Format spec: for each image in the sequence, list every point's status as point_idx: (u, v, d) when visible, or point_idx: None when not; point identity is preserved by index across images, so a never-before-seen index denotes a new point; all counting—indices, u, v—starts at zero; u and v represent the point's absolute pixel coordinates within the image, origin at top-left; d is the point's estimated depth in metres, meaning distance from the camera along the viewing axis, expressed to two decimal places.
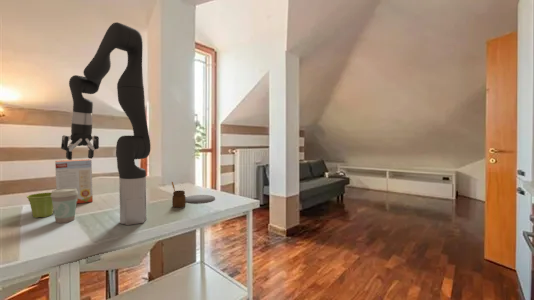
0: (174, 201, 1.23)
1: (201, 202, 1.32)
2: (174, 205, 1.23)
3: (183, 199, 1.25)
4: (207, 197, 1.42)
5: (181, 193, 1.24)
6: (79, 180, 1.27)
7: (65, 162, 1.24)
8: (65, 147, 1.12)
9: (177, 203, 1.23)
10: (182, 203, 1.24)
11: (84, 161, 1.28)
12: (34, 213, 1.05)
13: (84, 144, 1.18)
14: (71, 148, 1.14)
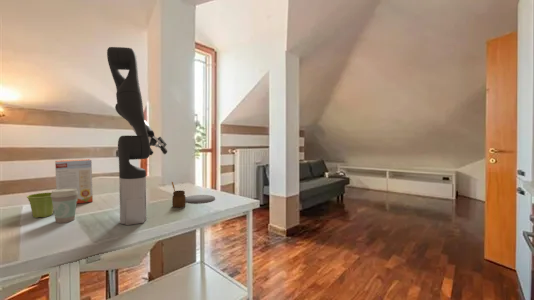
0: (174, 201, 1.23)
1: (201, 202, 1.32)
2: (174, 205, 1.23)
3: (183, 199, 1.25)
4: (207, 197, 1.42)
5: (181, 193, 1.24)
6: (79, 180, 1.27)
7: (65, 162, 1.24)
8: None
9: (177, 203, 1.23)
10: (182, 203, 1.24)
11: (84, 161, 1.28)
12: (34, 213, 1.05)
13: (154, 142, 1.32)
14: None
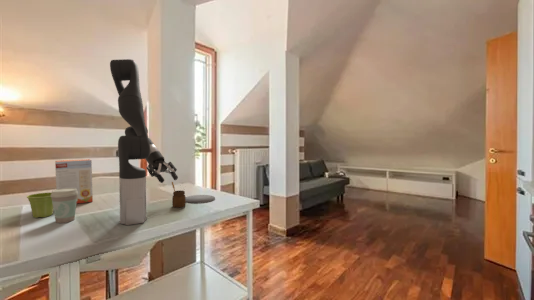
0: (174, 201, 1.23)
1: (201, 202, 1.32)
2: (174, 205, 1.23)
3: (183, 199, 1.25)
4: (207, 197, 1.42)
5: (181, 193, 1.24)
6: (79, 180, 1.27)
7: (65, 162, 1.24)
8: (153, 171, 1.23)
9: (177, 203, 1.23)
10: (182, 203, 1.24)
11: (84, 161, 1.28)
12: (34, 213, 1.05)
13: (165, 168, 1.30)
14: (158, 171, 1.25)
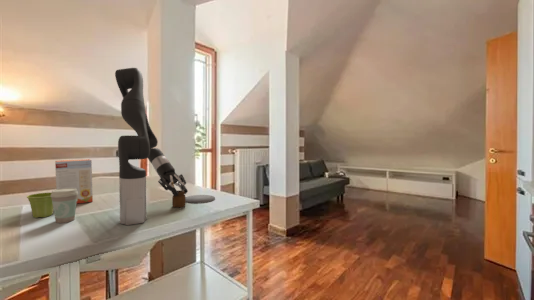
0: (174, 201, 1.23)
1: (201, 202, 1.32)
2: (174, 205, 1.23)
3: (183, 199, 1.25)
4: (207, 197, 1.42)
5: (181, 193, 1.24)
6: (79, 180, 1.27)
7: (65, 162, 1.24)
8: (168, 185, 1.21)
9: (177, 203, 1.23)
10: (182, 203, 1.24)
11: (84, 161, 1.28)
12: (34, 213, 1.05)
13: (174, 180, 1.27)
14: (172, 185, 1.23)
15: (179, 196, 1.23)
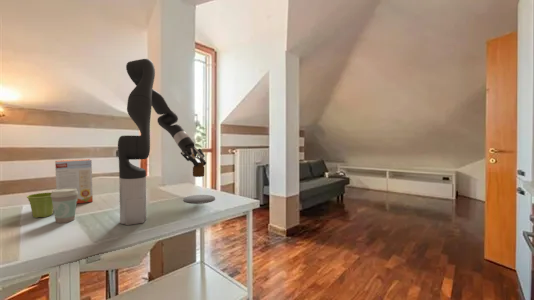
0: (194, 171, 1.36)
1: (201, 202, 1.32)
2: (194, 175, 1.37)
3: (202, 169, 1.38)
4: (207, 197, 1.42)
5: (201, 164, 1.37)
6: (79, 180, 1.27)
7: (65, 162, 1.24)
8: (189, 156, 1.34)
9: (197, 173, 1.36)
10: (202, 173, 1.37)
11: (84, 161, 1.28)
12: (34, 213, 1.05)
13: (194, 152, 1.40)
14: (193, 156, 1.36)
15: (199, 167, 1.37)
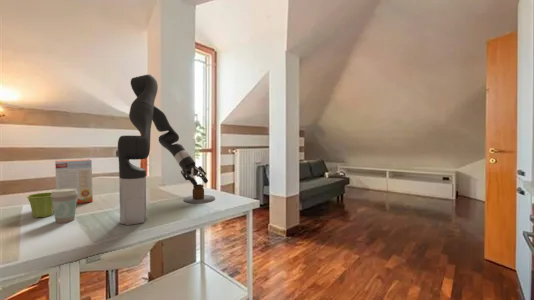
0: (194, 193, 1.37)
1: (201, 202, 1.32)
2: (194, 197, 1.37)
3: (202, 192, 1.38)
4: (207, 197, 1.42)
5: (200, 186, 1.37)
6: (79, 180, 1.27)
7: (65, 162, 1.24)
8: (188, 175, 1.34)
9: (197, 195, 1.36)
10: (201, 195, 1.37)
11: (84, 161, 1.28)
12: (34, 213, 1.05)
13: (196, 172, 1.41)
14: (191, 175, 1.36)
15: (198, 189, 1.37)
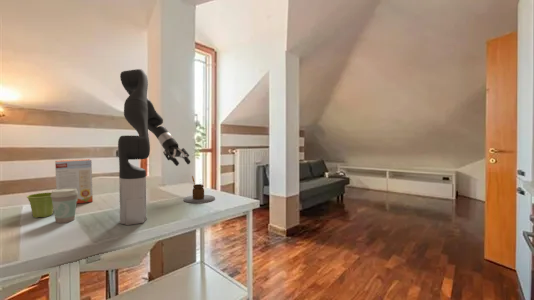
0: (194, 193, 1.37)
1: (201, 202, 1.32)
2: (194, 197, 1.37)
3: (202, 192, 1.38)
4: (207, 197, 1.42)
5: (200, 186, 1.37)
6: (79, 180, 1.27)
7: (65, 162, 1.24)
8: (170, 155, 1.39)
9: (197, 195, 1.36)
10: (201, 195, 1.37)
11: (84, 161, 1.28)
12: (34, 213, 1.05)
13: (179, 153, 1.46)
14: (173, 156, 1.41)
15: (198, 189, 1.37)
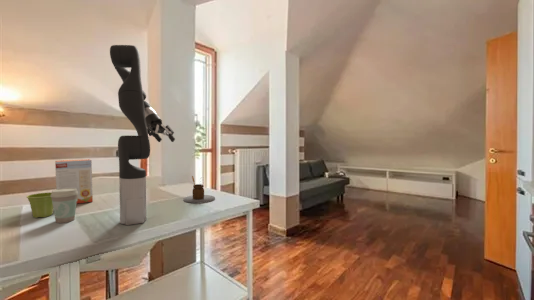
0: (194, 193, 1.37)
1: (201, 202, 1.32)
2: (194, 197, 1.37)
3: (202, 192, 1.38)
4: (207, 197, 1.42)
5: (200, 186, 1.37)
6: (79, 180, 1.27)
7: (65, 162, 1.24)
8: (151, 130, 1.28)
9: (197, 195, 1.36)
10: (201, 195, 1.37)
11: (84, 161, 1.28)
12: (34, 213, 1.05)
13: (162, 129, 1.35)
14: (156, 131, 1.30)
15: (198, 189, 1.37)
